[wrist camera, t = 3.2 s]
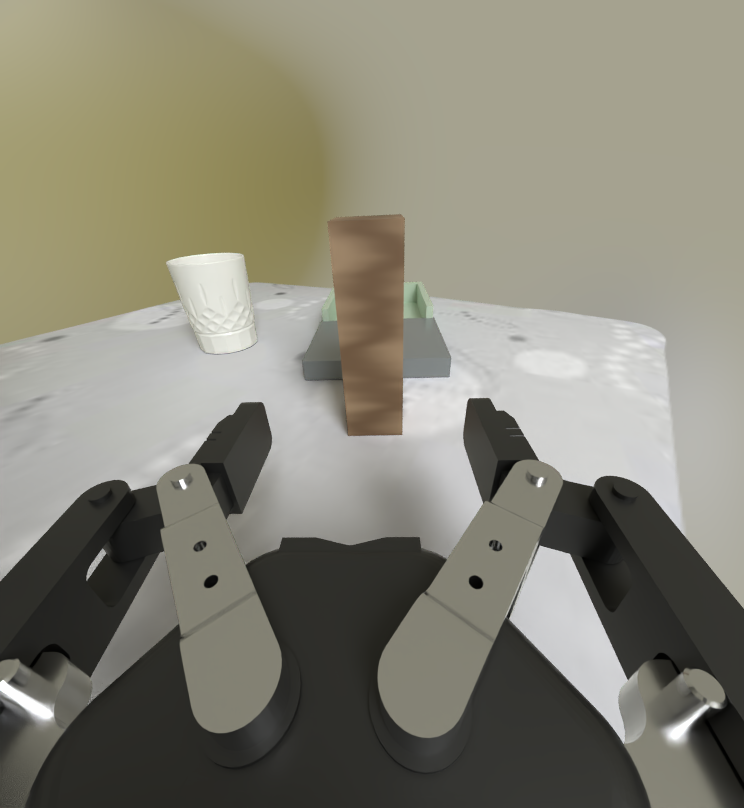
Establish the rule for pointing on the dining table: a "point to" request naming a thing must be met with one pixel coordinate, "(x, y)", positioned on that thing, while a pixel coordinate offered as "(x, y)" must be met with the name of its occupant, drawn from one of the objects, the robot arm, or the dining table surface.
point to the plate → (419, 351)
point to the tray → (414, 303)
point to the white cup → (216, 300)
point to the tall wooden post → (370, 319)
